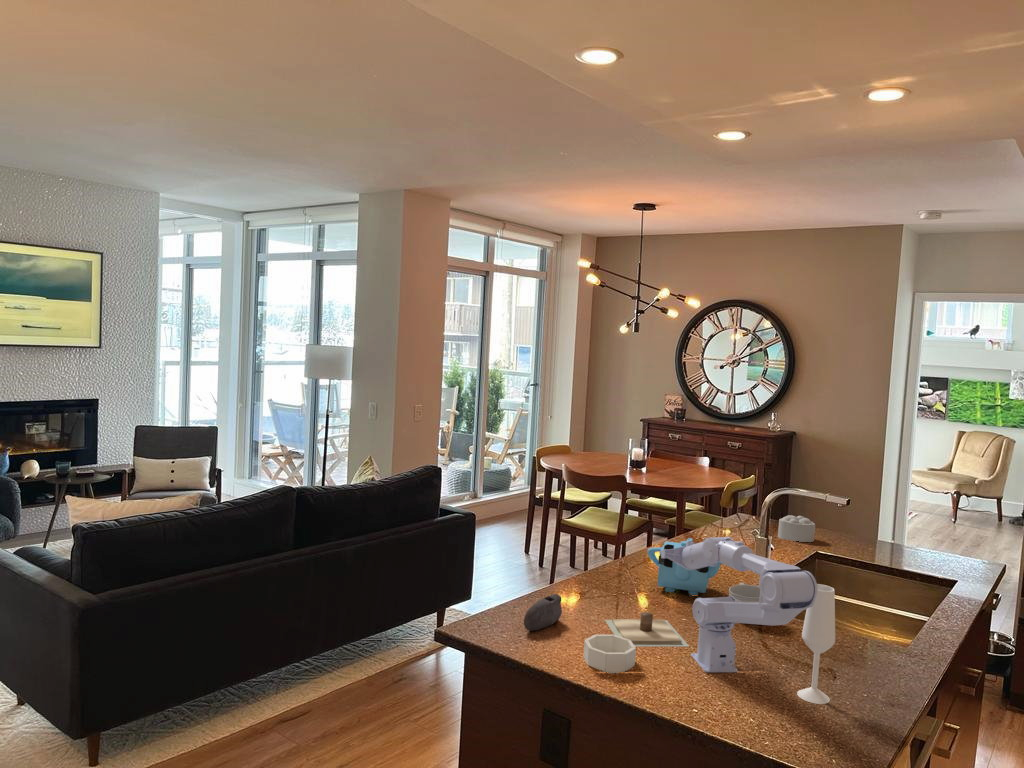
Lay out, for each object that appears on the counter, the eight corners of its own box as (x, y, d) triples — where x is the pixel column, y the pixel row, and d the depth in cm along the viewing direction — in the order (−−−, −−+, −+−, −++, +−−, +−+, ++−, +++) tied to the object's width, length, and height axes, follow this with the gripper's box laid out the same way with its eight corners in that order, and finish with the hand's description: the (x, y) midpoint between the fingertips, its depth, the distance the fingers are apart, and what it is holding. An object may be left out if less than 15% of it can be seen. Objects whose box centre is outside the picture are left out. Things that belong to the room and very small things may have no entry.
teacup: (770, 628, 208) (772, 598, 207) (728, 622, 210) (730, 593, 209) (764, 610, 221) (766, 582, 221) (724, 605, 224) (726, 578, 223)
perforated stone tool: (531, 637, 192) (533, 610, 192) (515, 631, 196) (516, 604, 195) (566, 621, 204) (568, 595, 204) (550, 616, 207) (552, 590, 207)
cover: (681, 643, 192) (682, 624, 192) (626, 643, 191) (627, 624, 190) (663, 622, 206) (664, 604, 206) (611, 622, 204) (612, 604, 204)
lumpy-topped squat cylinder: (785, 533, 314) (786, 512, 313) (817, 540, 305) (819, 518, 305) (775, 537, 306) (777, 516, 305) (808, 545, 297) (810, 522, 297)
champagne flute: (799, 701, 166) (809, 591, 164) (794, 687, 172) (803, 581, 171) (833, 705, 164) (842, 594, 163) (826, 691, 171) (835, 584, 169)
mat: (689, 647, 191) (689, 646, 191) (622, 647, 189) (622, 646, 189) (666, 621, 208) (666, 620, 208) (604, 621, 206) (604, 619, 206)
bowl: (638, 673, 175) (640, 653, 175) (591, 673, 174) (592, 653, 173) (625, 653, 186) (626, 634, 186) (580, 653, 184) (581, 634, 184)
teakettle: (640, 583, 240) (643, 536, 239) (688, 577, 248) (691, 531, 247) (679, 604, 223) (683, 553, 222) (730, 597, 231) (733, 548, 230)
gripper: (726, 543, 193) (698, 551, 205) (673, 534, 189) (648, 542, 202) (726, 572, 190) (698, 578, 202) (673, 563, 187) (647, 570, 199)
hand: (673, 562), depth 202 cm, fingers open, 7 cm apart
